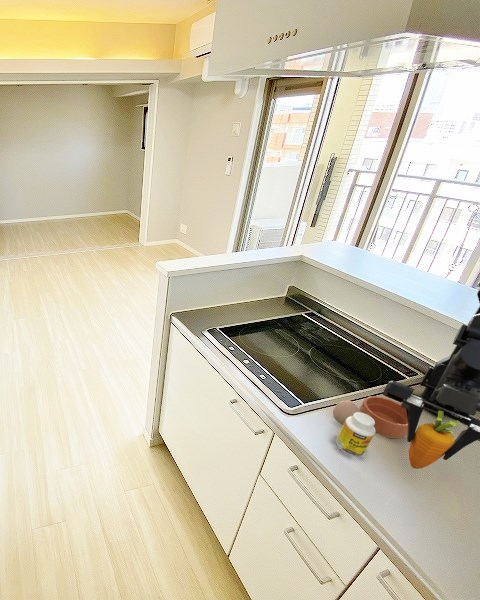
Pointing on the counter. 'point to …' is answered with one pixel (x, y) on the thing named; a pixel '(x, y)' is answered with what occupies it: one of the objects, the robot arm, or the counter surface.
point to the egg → (344, 411)
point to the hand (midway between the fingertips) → (425, 450)
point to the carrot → (431, 442)
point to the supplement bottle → (356, 434)
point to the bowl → (386, 416)
